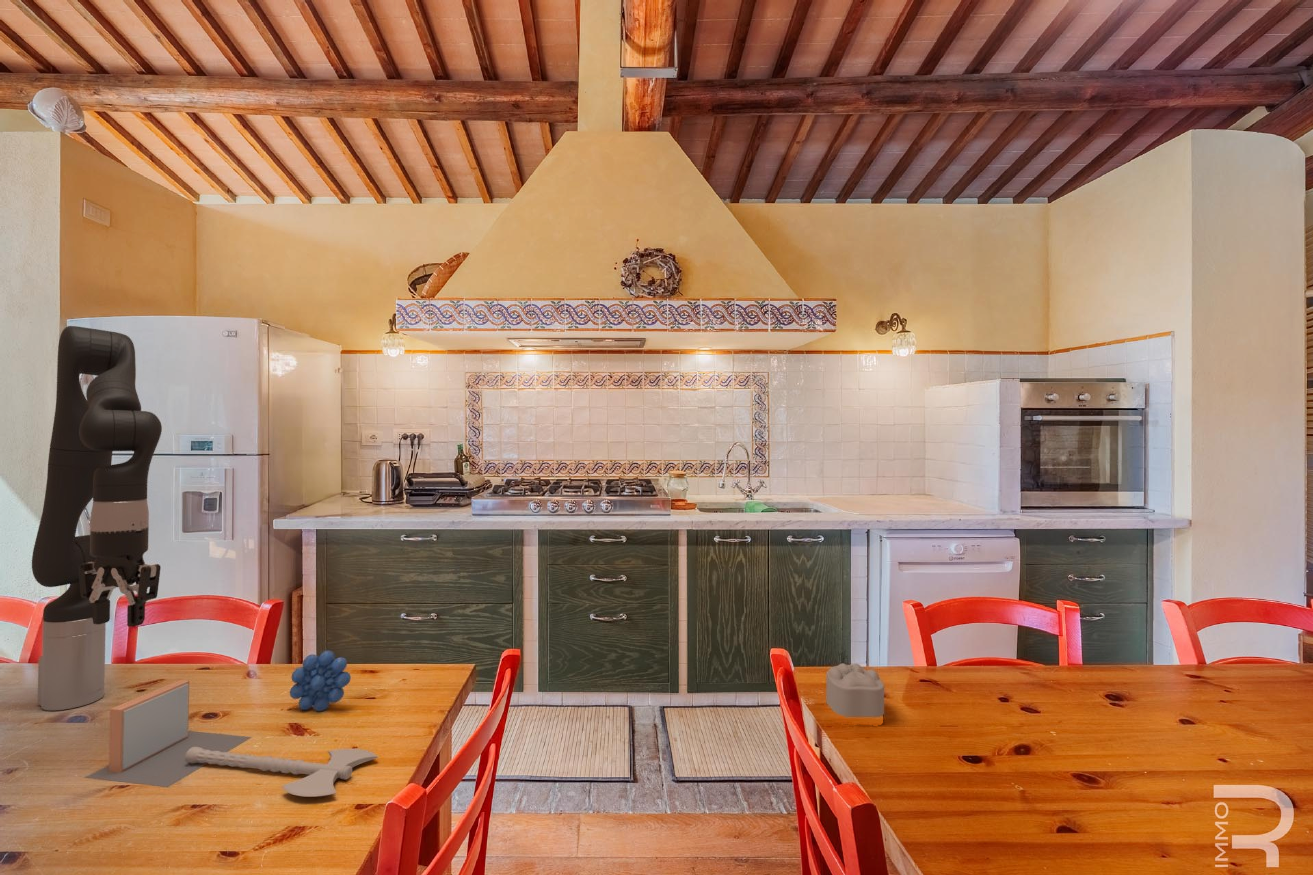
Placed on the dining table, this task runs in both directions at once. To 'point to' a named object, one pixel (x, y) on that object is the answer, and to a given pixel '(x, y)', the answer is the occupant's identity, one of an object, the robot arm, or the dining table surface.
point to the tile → (148, 725)
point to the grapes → (320, 681)
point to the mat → (171, 761)
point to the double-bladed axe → (292, 767)
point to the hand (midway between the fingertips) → (118, 624)
